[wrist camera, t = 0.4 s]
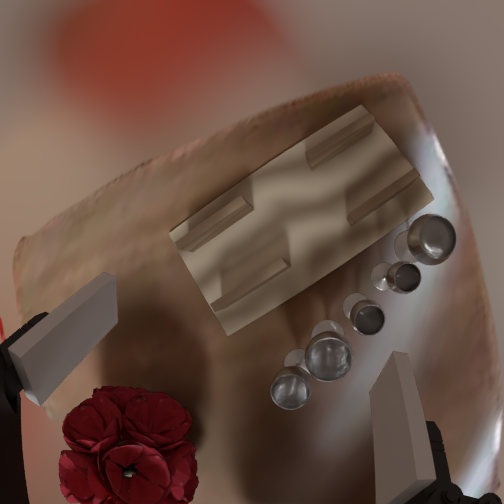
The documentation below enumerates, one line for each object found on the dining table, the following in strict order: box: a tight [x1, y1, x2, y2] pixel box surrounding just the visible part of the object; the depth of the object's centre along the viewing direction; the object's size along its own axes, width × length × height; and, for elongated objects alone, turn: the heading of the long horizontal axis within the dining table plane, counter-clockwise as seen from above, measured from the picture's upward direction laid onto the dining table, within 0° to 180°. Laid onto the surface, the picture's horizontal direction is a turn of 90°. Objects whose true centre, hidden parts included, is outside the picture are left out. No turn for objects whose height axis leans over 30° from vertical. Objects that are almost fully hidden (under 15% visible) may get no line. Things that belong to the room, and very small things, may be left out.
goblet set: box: [271, 214, 456, 410], centre depth 36 cm, size 28×6×13 cm, turn 136°
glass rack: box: [169, 105, 434, 336], centre depth 42 cm, size 18×36×6 cm, turn 123°
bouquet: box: [59, 386, 199, 504], centre depth 37 cm, size 22×24×30 cm
